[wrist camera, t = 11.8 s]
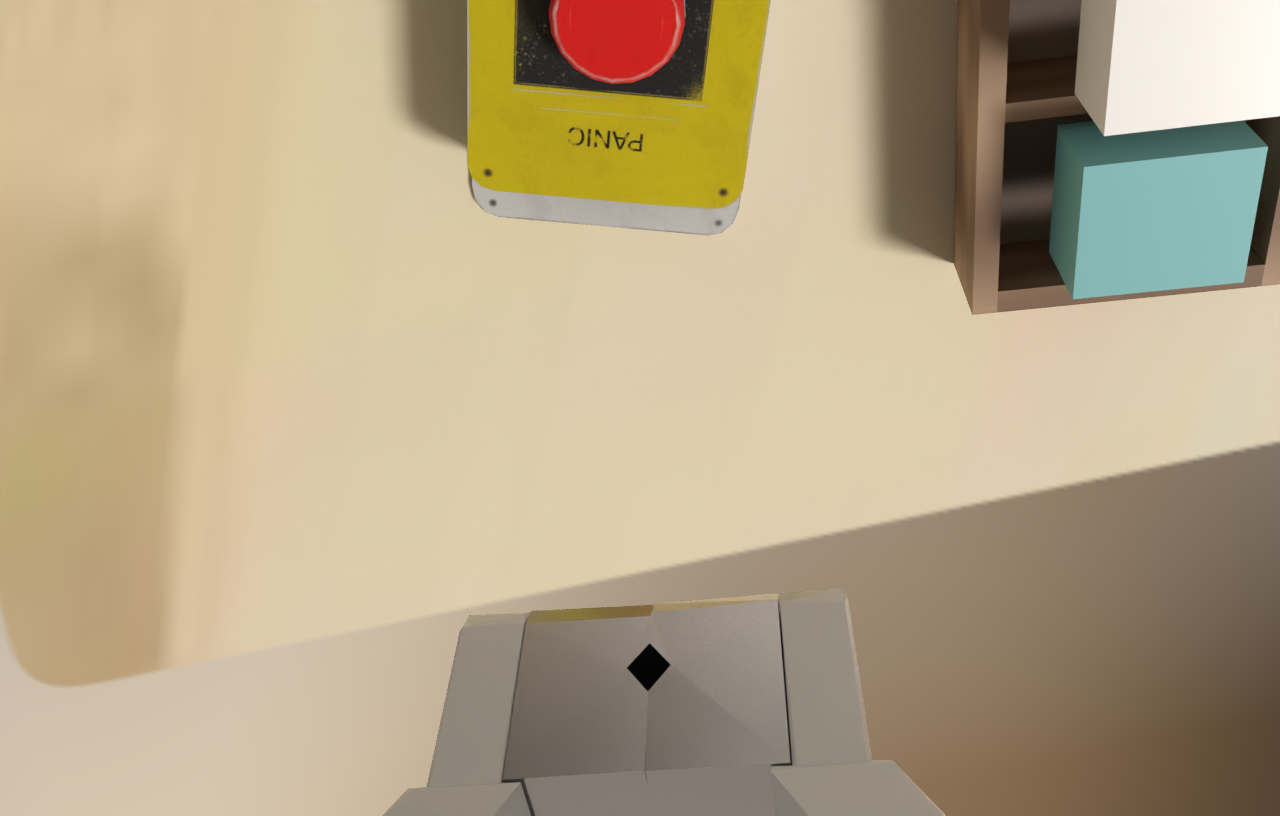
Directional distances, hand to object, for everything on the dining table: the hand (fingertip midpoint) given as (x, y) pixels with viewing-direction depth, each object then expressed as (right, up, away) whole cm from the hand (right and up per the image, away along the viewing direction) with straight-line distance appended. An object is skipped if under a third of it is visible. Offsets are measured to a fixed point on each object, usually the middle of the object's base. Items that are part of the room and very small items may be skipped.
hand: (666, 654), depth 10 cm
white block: (+14, +14, +24) cm, 31 cm away
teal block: (+15, +10, +29) cm, 34 cm away
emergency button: (-1, +15, +29) cm, 32 cm away
